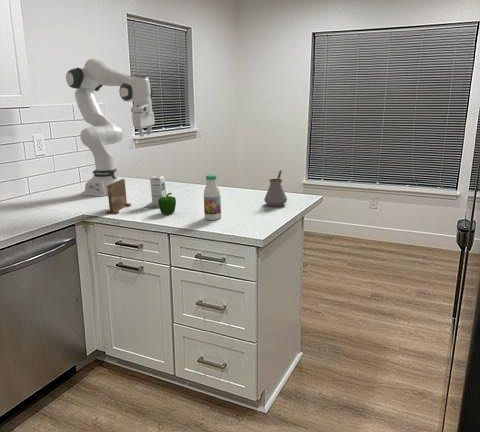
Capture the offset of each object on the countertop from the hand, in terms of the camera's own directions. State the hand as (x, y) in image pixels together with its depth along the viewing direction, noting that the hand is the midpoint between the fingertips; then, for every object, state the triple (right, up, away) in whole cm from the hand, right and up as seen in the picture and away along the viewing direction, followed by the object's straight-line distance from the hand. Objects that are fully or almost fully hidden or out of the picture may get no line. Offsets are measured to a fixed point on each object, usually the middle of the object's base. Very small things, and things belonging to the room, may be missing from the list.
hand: (145, 135), depth 234 cm
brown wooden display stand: (-12, -38, -5) cm, 41 cm away
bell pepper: (+14, -41, -16) cm, 46 cm away
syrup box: (+7, -36, 0) cm, 36 cm away
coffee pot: (+68, -35, -1) cm, 77 cm away
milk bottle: (+37, -43, -26) cm, 62 cm away
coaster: (+7, -36, 0) cm, 37 cm away
